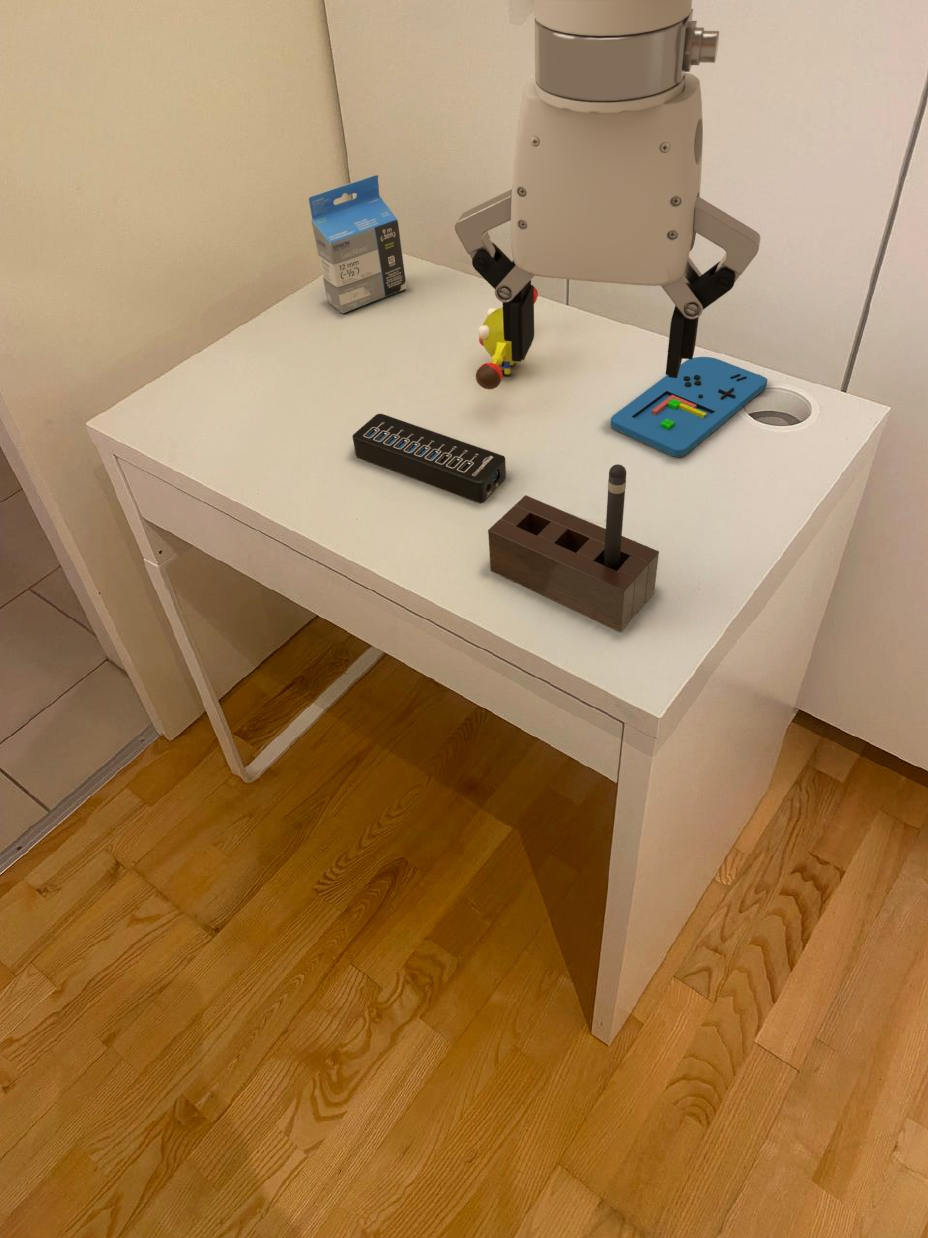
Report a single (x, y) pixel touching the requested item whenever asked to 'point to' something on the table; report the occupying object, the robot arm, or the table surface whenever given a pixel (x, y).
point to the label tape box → (357, 245)
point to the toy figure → (495, 349)
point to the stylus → (614, 516)
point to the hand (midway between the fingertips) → (597, 357)
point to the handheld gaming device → (688, 405)
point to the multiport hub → (430, 457)
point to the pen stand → (571, 562)
